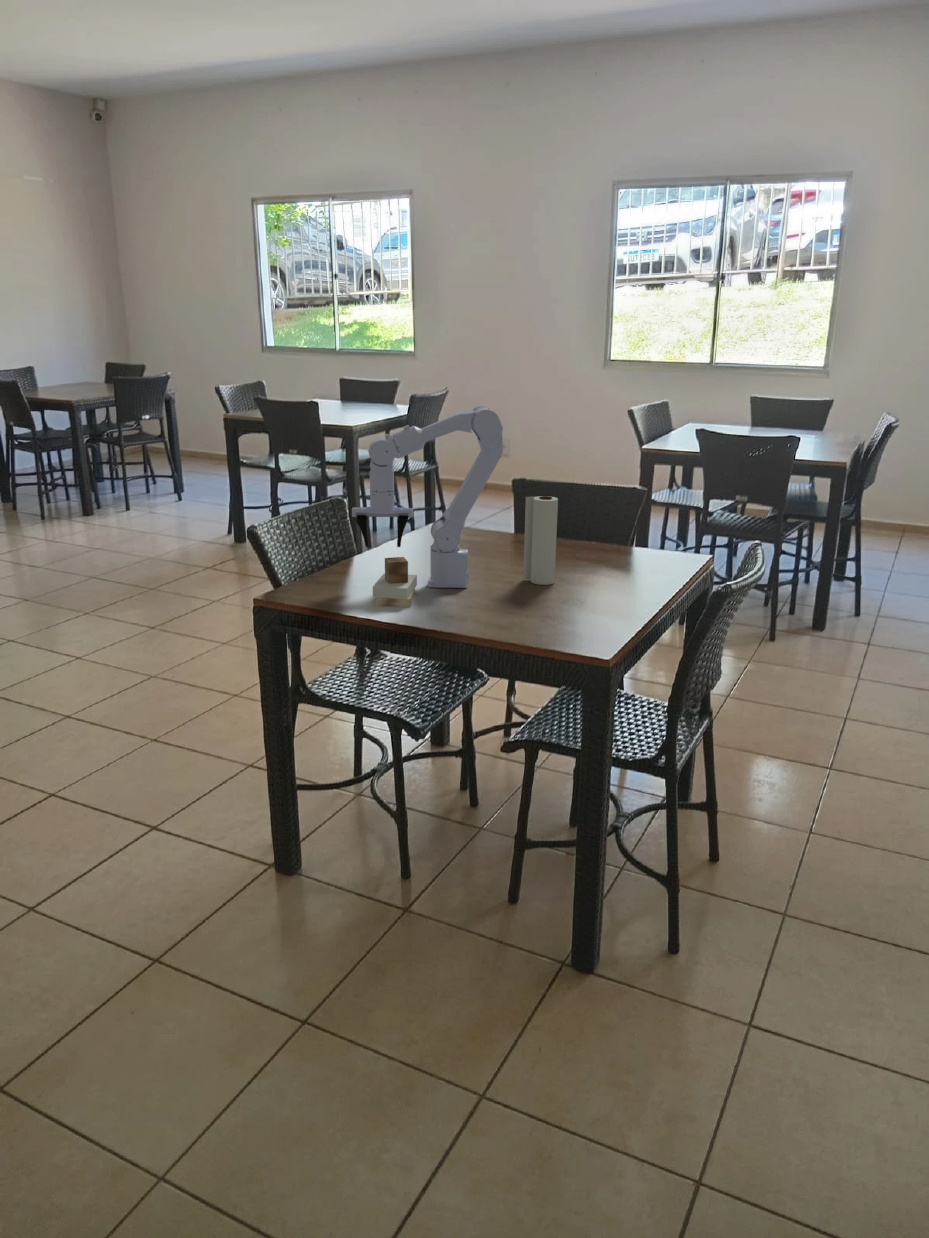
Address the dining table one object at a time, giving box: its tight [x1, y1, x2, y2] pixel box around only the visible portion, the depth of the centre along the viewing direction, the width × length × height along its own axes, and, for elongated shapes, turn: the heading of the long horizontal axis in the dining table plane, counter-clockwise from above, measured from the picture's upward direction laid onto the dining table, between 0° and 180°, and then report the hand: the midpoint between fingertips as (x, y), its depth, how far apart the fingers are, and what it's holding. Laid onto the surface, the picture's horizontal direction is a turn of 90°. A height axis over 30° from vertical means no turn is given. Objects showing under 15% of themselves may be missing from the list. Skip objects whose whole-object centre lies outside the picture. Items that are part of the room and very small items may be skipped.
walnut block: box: [384, 556, 409, 584], centre depth 214 cm, size 4×4×5 cm
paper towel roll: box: [522, 495, 559, 586], centre depth 227 cm, size 7×6×21 cm
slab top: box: [372, 572, 418, 599], centre depth 215 cm, size 8×12×2 cm, turn 172°
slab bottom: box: [375, 588, 416, 608], centre depth 216 cm, size 8×12×2 cm, turn 178°
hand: (383, 546), depth 223 cm, fingers open, 7 cm apart
